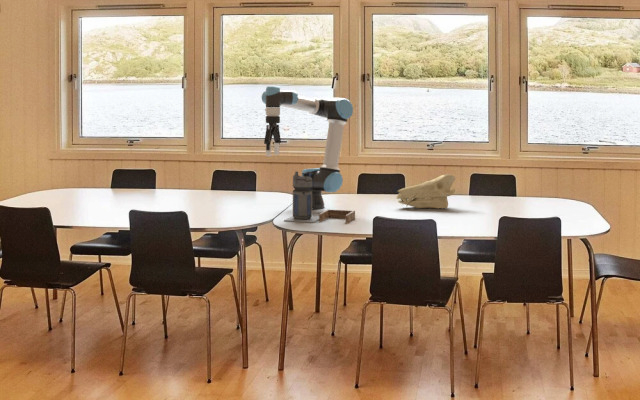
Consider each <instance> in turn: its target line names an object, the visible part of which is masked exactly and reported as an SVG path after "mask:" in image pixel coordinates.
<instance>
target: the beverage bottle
mask: <svg viewBox="0 0 640 400" xmlns="http://www.w3.org/2000/svg"><path fill="white" fill-rule="evenodd" d="M294 172H295V173H294V175H292V188H293V190H292V216H293V218H295V219H299V220H306V219H310V218H311V217H312V216H313V209H312V186H313V173H312V172H306V173H302V172H301V175H299V171H294ZM302 174H303V175H304V176H302Z"/></svg>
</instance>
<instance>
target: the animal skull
mask: <svg viewBox="0 0 640 400" xmlns="http://www.w3.org/2000/svg"><path fill="white" fill-rule="evenodd" d="M455 180H456V176H455V175H452V174H449V173H445V174H442V175H439V176H438V177H436V178H434V179H433V178H432V179H431V180H427V181H424V182H422V183H420V184H416V185H411V186H406V187H403V188H401V189H398V190H397V192H398V194H397V195H396V198H395V199H398V200H397V202H398V204H402V205H406V207H408V206H409V207H413V208H415V209H425V208H426V209H427V208H431V209H432V208H434V209H439V208H446V209H447V208H448V207H449V201H448V200H449V199H448V197H450V196H453V195H454V193H455V191H456V189H455V188H453V189H451V188H452V185H453V183H454V182H455ZM399 199H400V200H399Z"/></svg>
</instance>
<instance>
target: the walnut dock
mask: <svg viewBox="0 0 640 400" xmlns="http://www.w3.org/2000/svg"><path fill="white" fill-rule="evenodd" d="M318 217H319V220H318V222H319V223H321V222H323V221H325V220H327V219H328V218H337V219H345V221H344V223H345V224H348V223H350V222H351V221H353V220H355V219H356V211H355V210H347V209H346V210H342V209H326V210H324V211H322V212H320V213H319V214H318Z"/></svg>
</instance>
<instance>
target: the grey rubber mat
mask: <svg viewBox="0 0 640 400" xmlns="http://www.w3.org/2000/svg"><path fill="white" fill-rule="evenodd" d="M283 222H288V223H289V222H290V223H307V224H315V223H316V222H319V216H315V215H314V216H313V215H312V217H311V218H310V219H306V220H299V219H295V218H293V215H292V216H289V217H288V218H286V219H284V220H283Z"/></svg>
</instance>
